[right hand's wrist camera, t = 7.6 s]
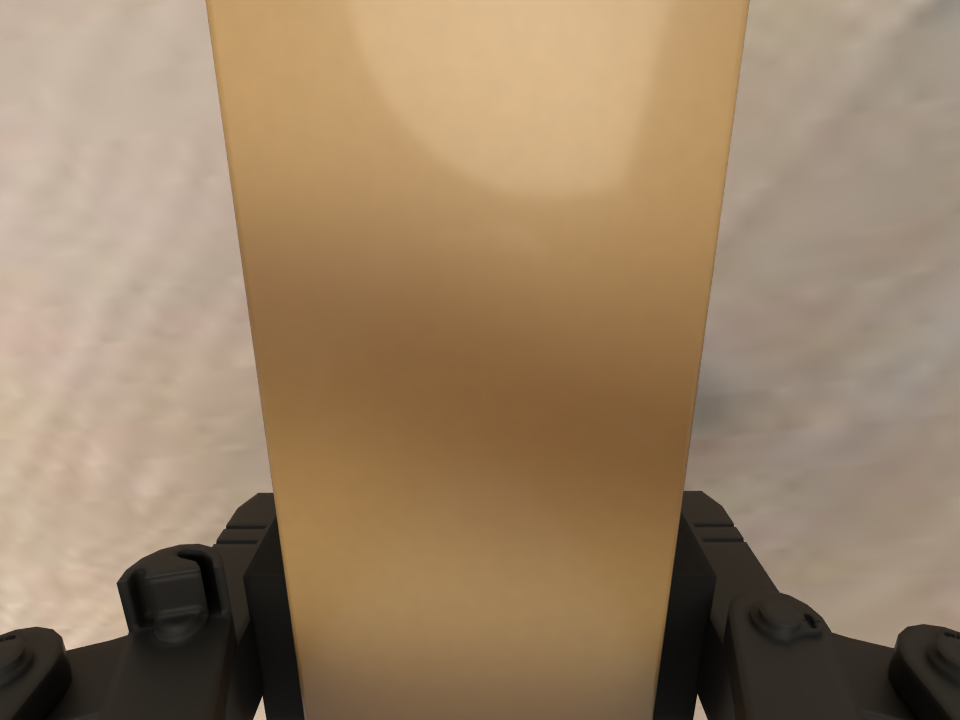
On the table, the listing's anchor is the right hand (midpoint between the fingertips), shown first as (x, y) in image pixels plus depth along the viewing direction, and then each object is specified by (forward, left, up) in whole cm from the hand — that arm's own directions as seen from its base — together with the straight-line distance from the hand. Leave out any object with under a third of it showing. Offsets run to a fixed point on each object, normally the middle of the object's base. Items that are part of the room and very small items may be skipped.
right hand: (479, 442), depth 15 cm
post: (+23, +5, -1) cm, 24 cm away
